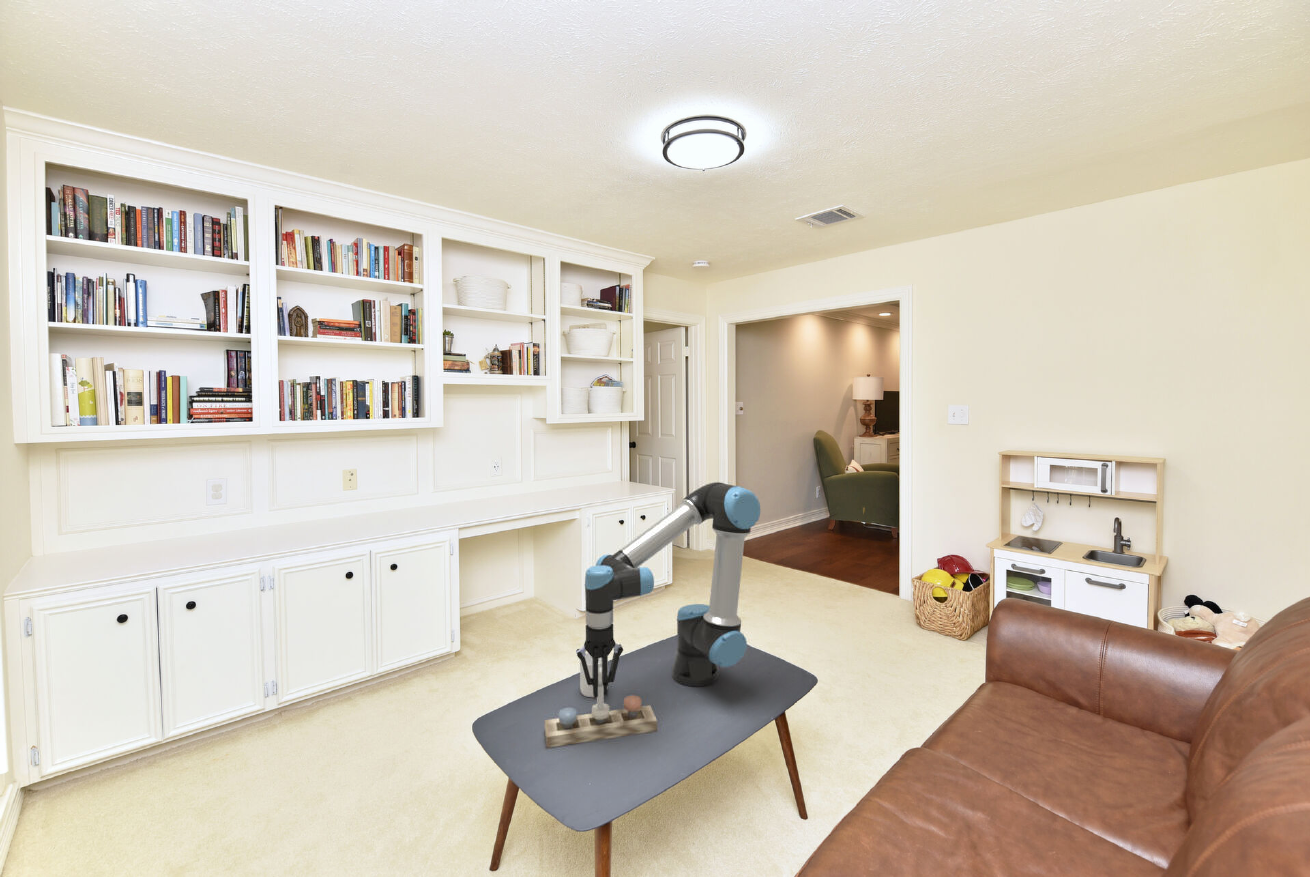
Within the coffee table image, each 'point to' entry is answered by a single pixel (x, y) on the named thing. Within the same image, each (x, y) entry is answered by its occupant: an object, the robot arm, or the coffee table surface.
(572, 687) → the coffee table surface
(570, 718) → the slate ball
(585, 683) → the mug
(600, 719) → the cream rounded piece
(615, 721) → the three-ball wooden rack
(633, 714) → the terracotta ball
